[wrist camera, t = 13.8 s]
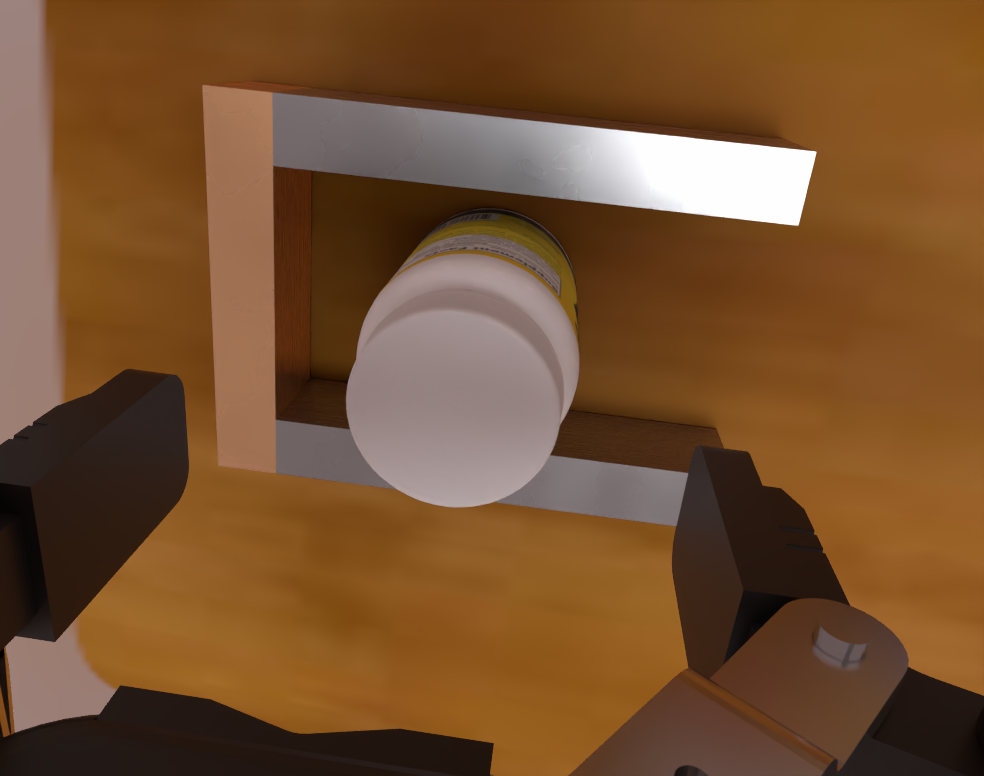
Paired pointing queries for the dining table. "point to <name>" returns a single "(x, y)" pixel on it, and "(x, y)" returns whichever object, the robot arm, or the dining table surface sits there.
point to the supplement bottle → (468, 361)
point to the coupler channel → (460, 163)
